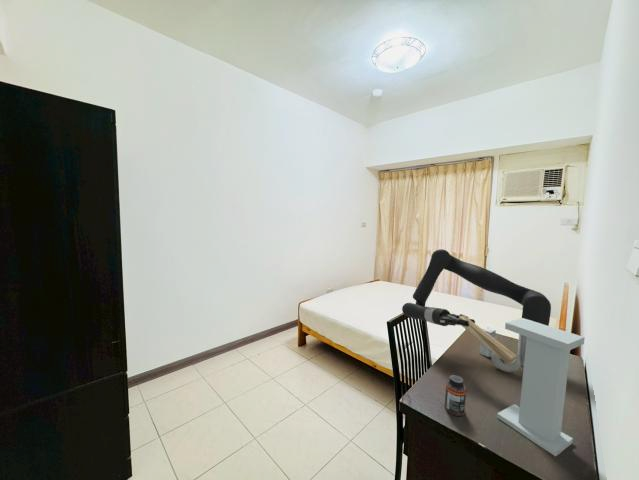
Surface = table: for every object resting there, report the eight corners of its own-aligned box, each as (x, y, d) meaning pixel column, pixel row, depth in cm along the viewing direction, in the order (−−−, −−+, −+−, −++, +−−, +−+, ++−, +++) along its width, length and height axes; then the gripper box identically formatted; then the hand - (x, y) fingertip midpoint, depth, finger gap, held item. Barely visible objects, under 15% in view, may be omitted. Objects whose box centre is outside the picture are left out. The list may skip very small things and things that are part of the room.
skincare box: (488, 357, 119) (491, 333, 118) (478, 353, 123) (480, 329, 122) (494, 354, 123) (496, 330, 122) (484, 350, 126) (486, 326, 126)
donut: (489, 368, 111) (491, 346, 110) (490, 365, 113) (492, 343, 112) (519, 377, 104) (521, 354, 103) (519, 374, 107) (521, 351, 106)
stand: (513, 408, 87) (522, 317, 84) (572, 443, 74) (584, 337, 71) (497, 417, 82) (505, 322, 80) (555, 456, 69) (568, 344, 66)
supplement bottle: (448, 401, 89) (450, 370, 88) (466, 410, 85) (469, 378, 84) (441, 409, 85) (444, 378, 84) (461, 420, 81) (463, 386, 80)
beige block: (462, 321, 108) (464, 315, 107) (513, 362, 90) (517, 356, 89) (457, 322, 107) (459, 316, 106) (508, 364, 89) (511, 357, 88)
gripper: (425, 309, 116) (458, 316, 101) (447, 306, 122) (482, 311, 106) (426, 326, 116) (460, 335, 100) (449, 322, 121) (484, 330, 105)
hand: (471, 323), depth 103 cm, fingers closed on beige block, 3 cm apart
